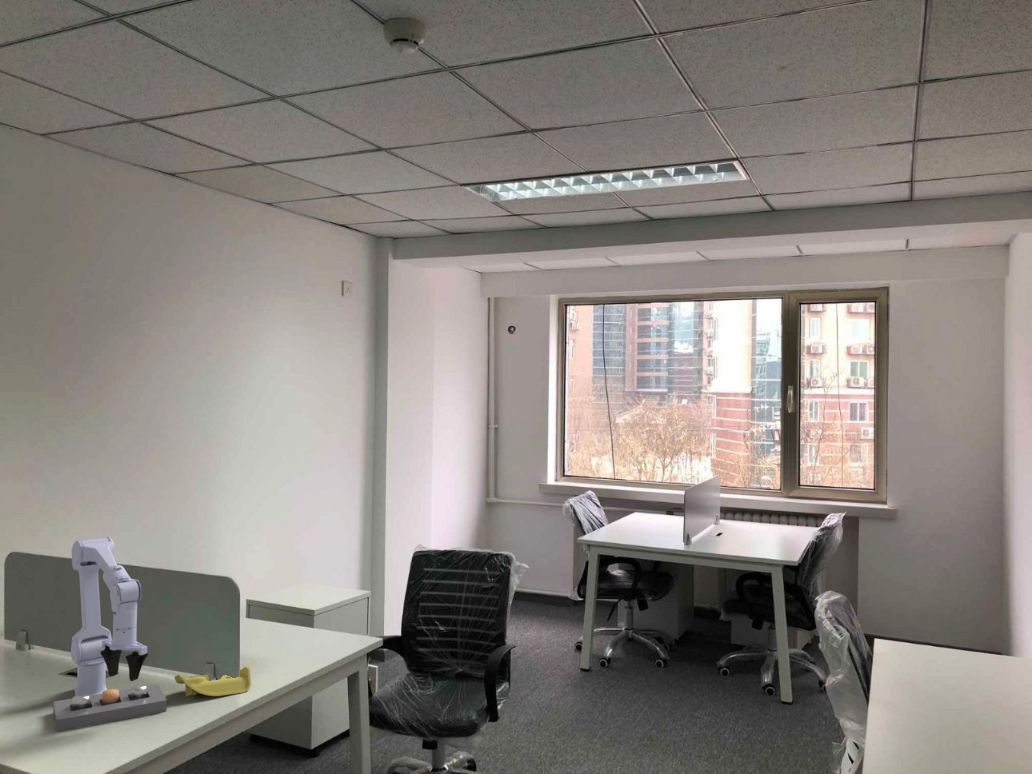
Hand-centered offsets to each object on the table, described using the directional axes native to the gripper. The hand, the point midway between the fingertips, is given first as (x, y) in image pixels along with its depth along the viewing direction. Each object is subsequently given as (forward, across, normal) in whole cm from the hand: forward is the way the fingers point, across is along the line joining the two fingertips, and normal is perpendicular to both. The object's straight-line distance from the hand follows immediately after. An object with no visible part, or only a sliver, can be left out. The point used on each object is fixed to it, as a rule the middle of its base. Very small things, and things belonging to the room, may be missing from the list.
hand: (123, 677), depth 214 cm
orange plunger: (+7, -5, 0) cm, 9 cm away
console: (+10, -5, 0) cm, 11 cm away
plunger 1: (+7, -9, -6) cm, 13 cm away
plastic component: (+11, +8, +24) cm, 27 cm away
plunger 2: (+7, -1, +6) cm, 9 cm away
